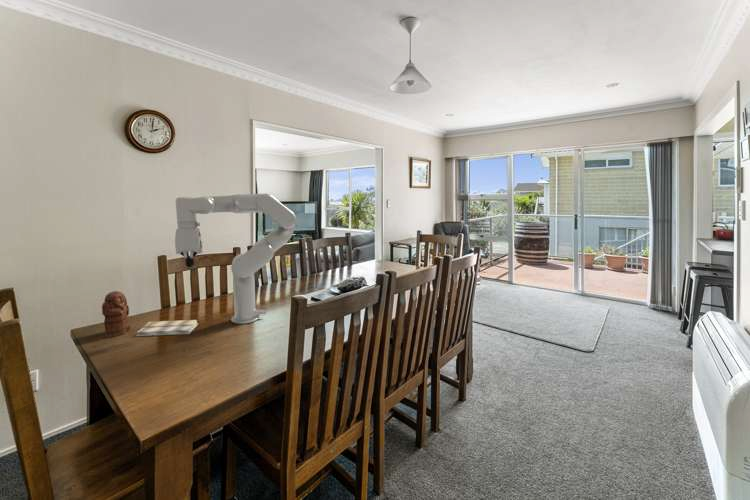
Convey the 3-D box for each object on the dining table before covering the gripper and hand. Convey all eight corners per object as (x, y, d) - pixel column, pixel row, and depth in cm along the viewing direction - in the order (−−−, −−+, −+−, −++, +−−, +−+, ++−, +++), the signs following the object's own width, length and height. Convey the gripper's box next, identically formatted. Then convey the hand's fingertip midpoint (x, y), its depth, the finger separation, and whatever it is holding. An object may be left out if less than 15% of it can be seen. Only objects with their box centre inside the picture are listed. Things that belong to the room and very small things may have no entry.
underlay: (198, 324, 166) (198, 323, 166) (189, 333, 154) (189, 333, 154) (148, 326, 162) (148, 325, 162) (135, 336, 151) (135, 335, 151)
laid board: (192, 328, 160) (192, 325, 159) (188, 332, 154) (188, 329, 154) (143, 330, 156) (143, 327, 156) (137, 335, 151) (136, 332, 151)
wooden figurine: (120, 337, 150) (116, 295, 147) (103, 338, 149) (98, 295, 146) (133, 326, 161) (130, 287, 158) (117, 327, 160) (113, 288, 157)
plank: (196, 322, 165) (196, 319, 165) (192, 327, 160) (192, 325, 160) (149, 324, 162) (149, 321, 162) (143, 330, 157) (143, 327, 157)
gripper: (207, 224, 163) (210, 264, 166) (172, 224, 161) (175, 265, 164) (202, 226, 156) (205, 267, 159) (165, 226, 153) (168, 268, 156)
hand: (190, 266), depth 161 cm, fingers closed
